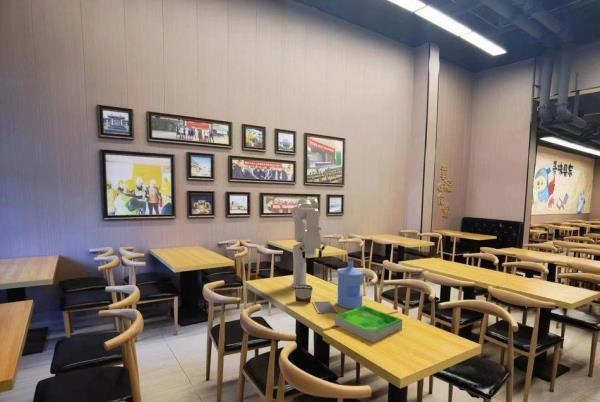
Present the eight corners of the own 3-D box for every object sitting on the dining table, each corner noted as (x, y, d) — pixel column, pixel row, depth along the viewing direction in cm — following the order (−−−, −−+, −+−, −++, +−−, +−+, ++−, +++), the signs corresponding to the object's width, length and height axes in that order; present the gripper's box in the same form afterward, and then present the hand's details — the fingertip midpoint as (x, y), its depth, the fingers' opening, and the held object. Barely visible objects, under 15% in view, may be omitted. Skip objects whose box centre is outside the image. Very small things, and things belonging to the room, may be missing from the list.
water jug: (332, 303, 193) (333, 260, 192) (348, 298, 204) (349, 256, 203) (351, 311, 181) (352, 264, 181) (367, 305, 192) (368, 261, 191)
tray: (334, 325, 163) (334, 315, 163) (364, 313, 179) (364, 305, 179) (373, 343, 144) (373, 332, 144) (402, 328, 160) (402, 319, 160)
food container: (313, 299, 200) (313, 284, 200) (312, 302, 194) (312, 287, 194) (294, 298, 202) (294, 283, 201) (293, 301, 196) (293, 286, 195)
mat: (312, 302, 195) (312, 301, 195) (330, 301, 197) (330, 301, 197) (318, 313, 177) (318, 312, 177) (338, 312, 179) (338, 311, 179)
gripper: (324, 228, 187) (324, 256, 188) (297, 228, 185) (296, 256, 185) (327, 230, 180) (327, 259, 180) (299, 230, 177) (298, 259, 178)
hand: (311, 257), depth 183 cm, fingers open, 9 cm apart
